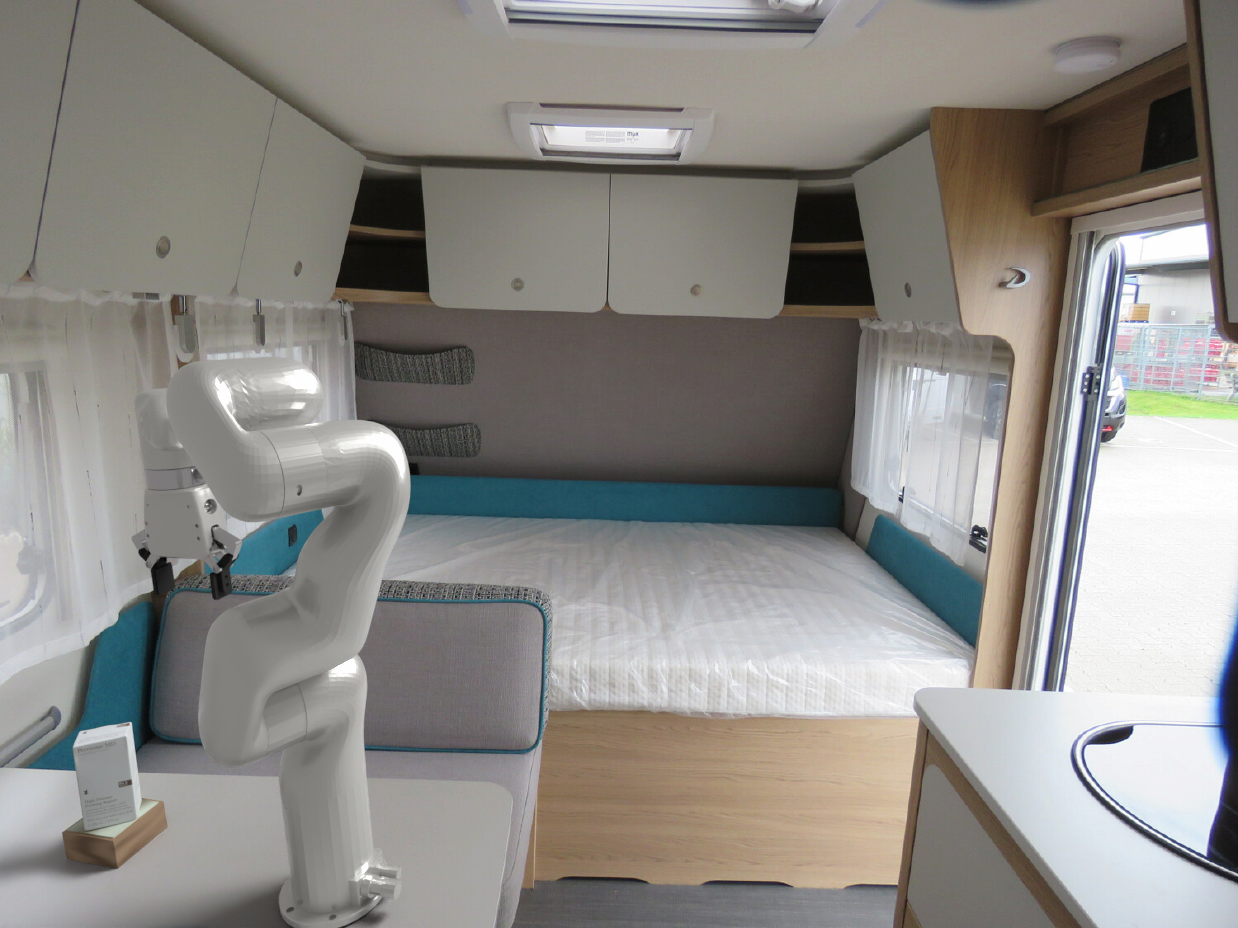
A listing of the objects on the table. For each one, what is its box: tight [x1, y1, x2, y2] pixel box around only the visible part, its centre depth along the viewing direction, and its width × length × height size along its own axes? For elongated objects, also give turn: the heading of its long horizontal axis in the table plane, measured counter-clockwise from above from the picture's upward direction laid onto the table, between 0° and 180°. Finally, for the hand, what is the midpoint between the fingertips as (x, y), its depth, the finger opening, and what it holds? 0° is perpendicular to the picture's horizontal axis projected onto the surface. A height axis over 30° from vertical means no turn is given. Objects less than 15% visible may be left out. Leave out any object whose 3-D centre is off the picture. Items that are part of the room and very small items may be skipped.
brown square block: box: [61, 797, 168, 869], centre depth 100 cm, size 8×8×4 cm
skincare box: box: [72, 721, 142, 831], centre depth 98 cm, size 6×4×12 cm
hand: (193, 594), depth 107 cm, fingers open, 9 cm apart
